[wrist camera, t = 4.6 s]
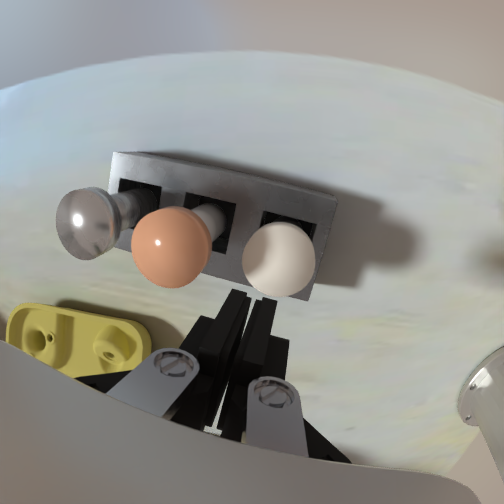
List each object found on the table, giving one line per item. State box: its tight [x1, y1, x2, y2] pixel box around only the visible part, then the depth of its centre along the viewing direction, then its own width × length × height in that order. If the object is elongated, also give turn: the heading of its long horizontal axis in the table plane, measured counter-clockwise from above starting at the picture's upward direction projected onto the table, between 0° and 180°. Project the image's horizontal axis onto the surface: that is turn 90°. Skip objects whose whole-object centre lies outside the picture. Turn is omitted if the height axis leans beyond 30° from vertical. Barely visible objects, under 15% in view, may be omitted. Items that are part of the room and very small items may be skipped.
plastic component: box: [6, 303, 152, 378], centre depth 34 cm, size 20×7×10 cm
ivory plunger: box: [242, 216, 315, 297], centre depth 23 cm, size 4×4×8 cm
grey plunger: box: [56, 187, 157, 260], centre depth 22 cm, size 4×4×8 cm
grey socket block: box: [108, 152, 338, 301], centre depth 26 cm, size 18×8×4 cm, turn 77°
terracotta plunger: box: [131, 203, 227, 288], centre depth 21 cm, size 4×4×8 cm
